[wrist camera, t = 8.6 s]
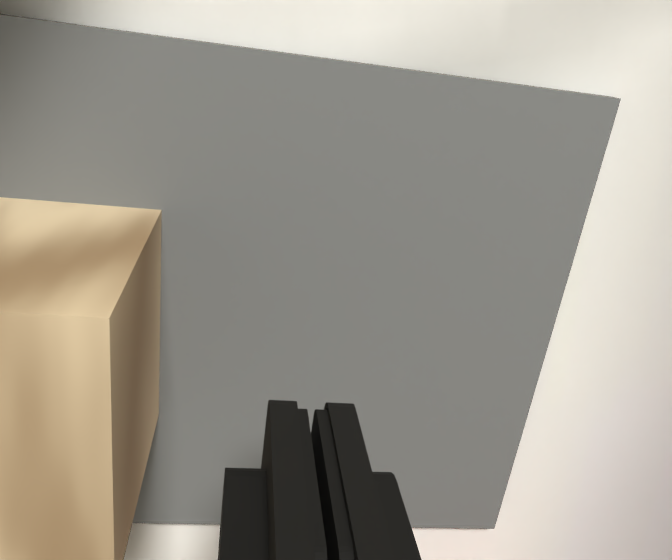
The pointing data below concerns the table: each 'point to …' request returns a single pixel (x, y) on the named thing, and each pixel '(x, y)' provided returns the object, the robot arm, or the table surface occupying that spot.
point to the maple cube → (76, 374)
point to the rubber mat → (319, 244)
